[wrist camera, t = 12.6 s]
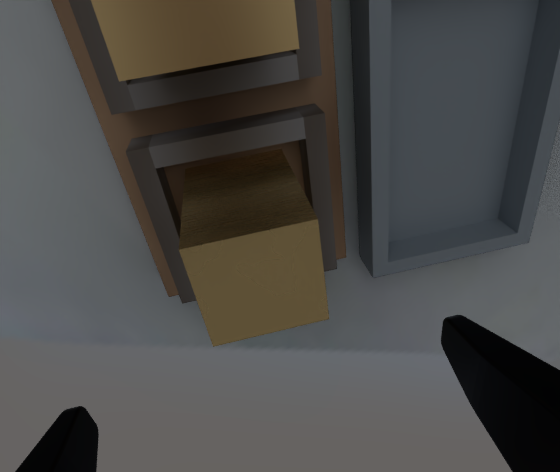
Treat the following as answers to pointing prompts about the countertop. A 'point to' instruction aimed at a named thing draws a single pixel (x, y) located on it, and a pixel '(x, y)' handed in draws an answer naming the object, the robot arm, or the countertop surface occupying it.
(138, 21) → the pallet
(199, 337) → the countertop surface
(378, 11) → the tray
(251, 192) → the block
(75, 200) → the countertop surface
